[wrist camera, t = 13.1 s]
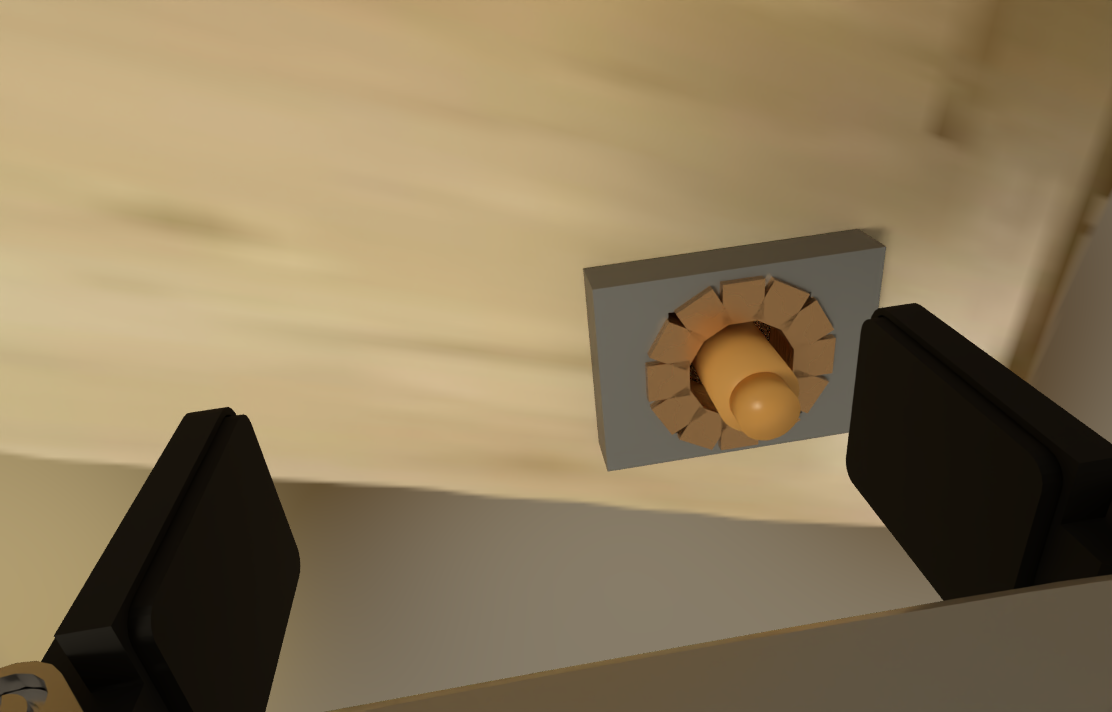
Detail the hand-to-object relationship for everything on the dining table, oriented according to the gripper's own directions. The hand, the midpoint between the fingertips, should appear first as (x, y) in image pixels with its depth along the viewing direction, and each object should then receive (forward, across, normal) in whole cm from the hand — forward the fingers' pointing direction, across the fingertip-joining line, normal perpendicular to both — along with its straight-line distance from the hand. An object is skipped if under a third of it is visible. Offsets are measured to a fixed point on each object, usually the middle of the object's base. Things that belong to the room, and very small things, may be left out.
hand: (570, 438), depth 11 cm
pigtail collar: (+28, -12, +15) cm, 34 cm away
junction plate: (+28, -12, +15) cm, 34 cm away
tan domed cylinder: (+28, -12, +15) cm, 34 cm away
